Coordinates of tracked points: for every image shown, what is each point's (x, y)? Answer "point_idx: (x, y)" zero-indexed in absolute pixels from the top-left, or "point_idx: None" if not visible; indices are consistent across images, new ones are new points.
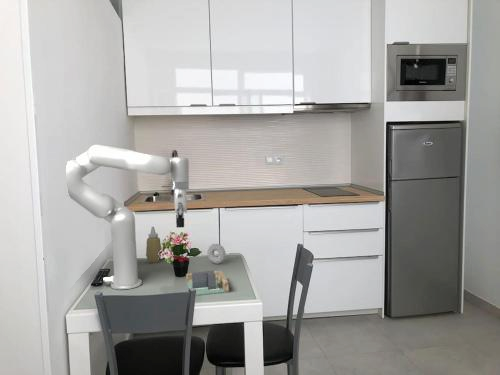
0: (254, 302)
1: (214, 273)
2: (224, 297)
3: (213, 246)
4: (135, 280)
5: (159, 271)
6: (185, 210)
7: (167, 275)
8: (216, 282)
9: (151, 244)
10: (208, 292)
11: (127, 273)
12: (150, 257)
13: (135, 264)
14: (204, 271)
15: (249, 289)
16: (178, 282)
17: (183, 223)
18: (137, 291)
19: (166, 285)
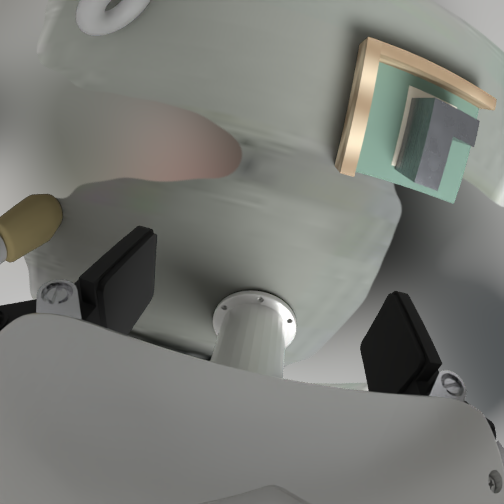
0: None
1: (468, 116)
2: (501, 130)
3: (98, 3)
4: (276, 318)
5: (148, 215)
6: (488, 440)
7: (205, 201)
8: (391, 77)
9: (25, 246)
10: (463, 149)
11: (284, 354)
12: (54, 231)
13: (269, 351)
14: (430, 133)
15: (478, 39)
16: (310, 188)
17: (414, 321)
18: (326, 311)
19: (320, 232)
